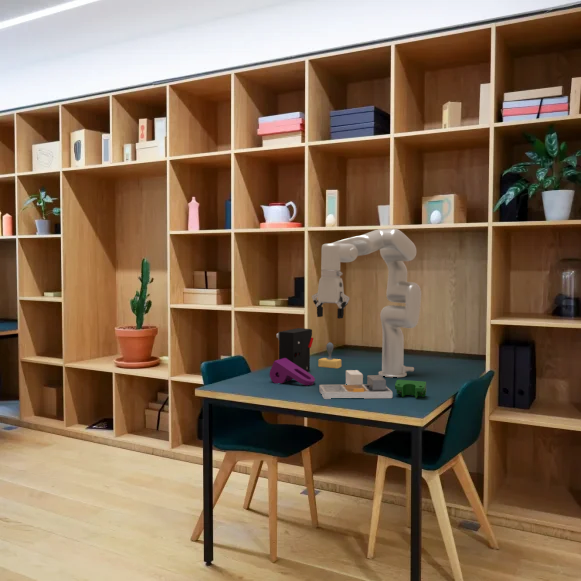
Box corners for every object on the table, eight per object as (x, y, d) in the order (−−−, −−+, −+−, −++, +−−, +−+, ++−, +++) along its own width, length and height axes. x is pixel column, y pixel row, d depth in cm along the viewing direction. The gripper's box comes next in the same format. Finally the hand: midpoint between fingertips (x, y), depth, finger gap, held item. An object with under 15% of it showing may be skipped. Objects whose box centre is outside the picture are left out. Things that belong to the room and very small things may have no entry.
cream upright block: (345, 384, 260) (345, 370, 260) (357, 384, 261) (357, 370, 260) (350, 389, 250) (350, 374, 250) (362, 389, 251) (362, 374, 250)
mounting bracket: (310, 396, 264) (278, 374, 271) (318, 379, 262) (285, 357, 269) (300, 400, 256) (266, 377, 263) (308, 383, 254) (274, 360, 261)
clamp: (400, 408, 237) (390, 387, 236) (402, 401, 243) (393, 380, 242) (429, 399, 232) (419, 378, 231) (431, 392, 238) (421, 371, 236)
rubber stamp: (318, 366, 302) (318, 342, 301) (323, 365, 307) (323, 341, 306) (336, 368, 297) (337, 343, 296) (341, 366, 302) (341, 342, 302)
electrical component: (294, 369, 292) (294, 327, 291) (313, 372, 287) (313, 329, 286) (274, 376, 277) (274, 331, 276) (294, 378, 272) (294, 333, 271)
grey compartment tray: (383, 390, 248) (383, 374, 248) (392, 398, 234) (392, 381, 234) (319, 391, 246) (319, 374, 246) (324, 399, 232) (324, 381, 232)
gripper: (354, 275, 245) (353, 318, 245) (318, 274, 255) (317, 315, 256) (344, 275, 239) (343, 319, 239) (307, 274, 249) (306, 316, 250)
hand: (330, 317), depth 248 cm, fingers open, 9 cm apart
